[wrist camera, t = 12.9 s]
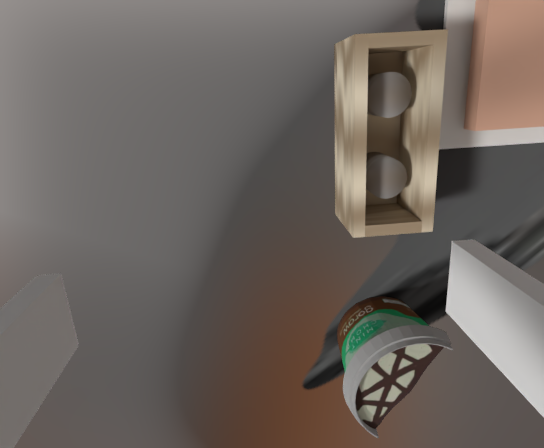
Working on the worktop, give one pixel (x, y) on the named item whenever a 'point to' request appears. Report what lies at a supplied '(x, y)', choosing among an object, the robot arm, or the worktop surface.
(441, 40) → the birch box
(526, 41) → the peach flat tile
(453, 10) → the grey mat
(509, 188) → the worktop surface
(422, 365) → the food container
